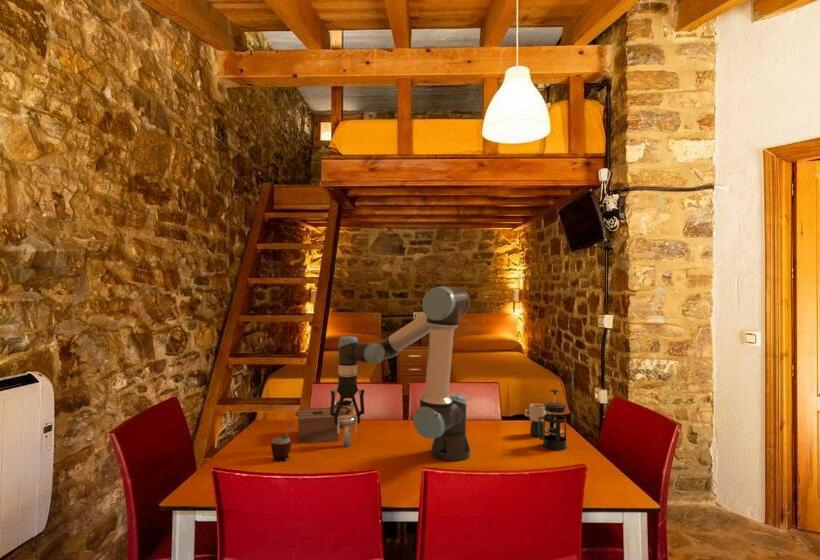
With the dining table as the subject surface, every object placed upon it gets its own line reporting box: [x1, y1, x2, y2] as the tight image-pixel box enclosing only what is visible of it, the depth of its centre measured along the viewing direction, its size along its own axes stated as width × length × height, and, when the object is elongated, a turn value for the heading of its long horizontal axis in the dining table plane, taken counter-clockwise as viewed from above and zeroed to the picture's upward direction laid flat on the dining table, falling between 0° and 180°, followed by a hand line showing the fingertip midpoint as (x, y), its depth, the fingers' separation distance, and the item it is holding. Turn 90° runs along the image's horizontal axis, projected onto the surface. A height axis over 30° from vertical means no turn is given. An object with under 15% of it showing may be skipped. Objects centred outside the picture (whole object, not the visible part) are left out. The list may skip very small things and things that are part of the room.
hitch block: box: [297, 407, 339, 444], centre depth 206 cm, size 16×16×10 cm
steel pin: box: [340, 414, 355, 448], centre depth 194 cm, size 6×6×12 cm
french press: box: [538, 388, 568, 451], centre depth 196 cm, size 12×9×23 cm
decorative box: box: [334, 399, 355, 428], centre depth 228 cm, size 13×20×10 cm, turn 177°
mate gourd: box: [270, 418, 298, 463], centre depth 179 cm, size 8×8×15 cm
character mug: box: [524, 403, 552, 437], centre depth 211 cm, size 11×7×13 cm, turn 80°
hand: (347, 432), depth 194 cm, fingers closed on steel pin, 6 cm apart
